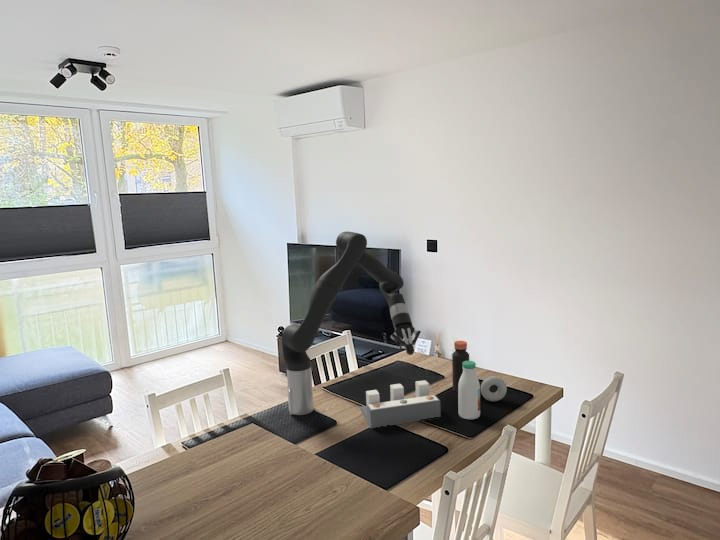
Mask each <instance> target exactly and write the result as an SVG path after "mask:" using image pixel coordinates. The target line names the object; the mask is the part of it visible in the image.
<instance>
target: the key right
mask: <svg viewBox="0 0 720 540" xmlns="http://www.w3.org/2000/svg"><path fill="white" fill-rule="evenodd" d="M414 383H415V398H416V397H423V396H430V395H431V394H430V383H429V382H428V381H427V380H426V379H425V380H416V381H415V382H414Z"/></svg>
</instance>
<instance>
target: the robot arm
mask: <svg viewBox="0 0 720 540" xmlns="http://www.w3.org/2000/svg"><path fill="white" fill-rule="evenodd" d="M367 245H368V241H367V237H366V235H364V234H362V233H359V232H353V231H343V232H341V233H339V234H338V236H337V237H336V240H335V246H336V248H337V250H338V251H339V252H340V253H341V254H342V256H341V257H340V259H339V260H338V261H337V262H336V263H335V264H333V266H332V267H330V268H329V269H327V270H326V271H325V272H324V273H322V275H321V276H320V277H319V278H318V280H317V281H316V283H315V284H314V286H313V289H312V290H311V293H310V296H309V303H308V310H307V313H306V315H305V316H304V318H303V320H302V322H301V323H300V325H299V324H296V323H295V324H294V323H293V324H292V323H291V324H289V325H287V326H286V327H285V328H284V330H283V331H282V334H281V345H282V356H283V360H284V363H285V366H286V378H287V381H286V382H287V386H286V387H287V388H286V389H287V402H288V411H289V415H290V416H292V415H294V416H304V415H308V414H310V413H312V412H313V411H314V410H315V409H314V406H315V405H314V394H313V377H312V376H313V375H312V360H311V358H310V357H309V355H308V353H307V351H308V350H309V349H310V348H311V346H312V345H313V343H314V341H315V339H316V336H317V334H318V332H319V329H320V327H321V325H322V323H323V321H324V319H325V318H326V317H327V313H328V312H329V310H330V308H331V306H332V305H333V303H334V302H335V300H336V298H337V297H338V294H339V293H340V291H341V289H342V287H343V285H344V283H345V282H346V280H347V279H348V278H349V275H350V273H351V272H352V271H353V269H354V268H355V267H356V265H359V266H360V267H361V268H362V269H363V270H364V271H365V272H366V273H367V274H369V276H371V278H373V280H375V281H376V282H377V283H379V284H378V286H379V288H378V289H379V290H380V292H381V293H382V294H383V296H384V297H385V299H386V301H387V306H388V309H389V313H390V320H391V321H392V325H393V328H394V330H393V333H391V335H390V339H391V340H392V341H394V342H395V343H396V344H397V345H398V346H400V347H404V348H405V353H406V354H407V355H408V356H412V355H413V354H414V353H415V349H414V345H416V343H417V342H418V341H417V340H418V339H419V337H420V335H421V332H422V331H421V330H416V328H415V327H414V326H413V322H412V319H411V316H410V312H409V309H408V307H407V305H406V301H405V298H404V295H403V294H402V293H400V292H397V291H400V290H401V289H402V288H403V287H404V283H405V282H404V279H403V277H402V276H401V275H400V274H398V273H397V272H395V271H392V270H391V269H389V268H387V267H386V266H385V264H383V263H382V262H381V261H380V260H379V259H378V258H376V257H374V256H373V255H371V254H370V253H368V252H367V251H366V249H367ZM413 335H414V339H413V337H412V336H413Z"/></svg>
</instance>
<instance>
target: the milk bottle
mask: <svg viewBox="0 0 720 540" xmlns="http://www.w3.org/2000/svg"><path fill="white" fill-rule="evenodd" d="M476 366H477V365H476V362H475V361H473V360H469V361H464V362H463V363H462V368H463V373H462V375H461V377H460V380H459V384H458V392H457V393H458V394H457V397H458V398H457V399H458V401H457V403H458V407H457V408H458V410H457V411H458V416H459V417H460V418H461V419H465V420H475V419H479V417H481V389H480V388H481V384H480V381H479V378H478V376H477V373H476Z"/></svg>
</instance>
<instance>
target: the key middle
mask: <svg viewBox="0 0 720 540" xmlns="http://www.w3.org/2000/svg"><path fill="white" fill-rule="evenodd" d="M389 388H390V393H389V394H390V401H395V400H402V399H405V389H404V388H405V387H404V386H403V385H402V384H401V383H394V384H390V385H389Z"/></svg>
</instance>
